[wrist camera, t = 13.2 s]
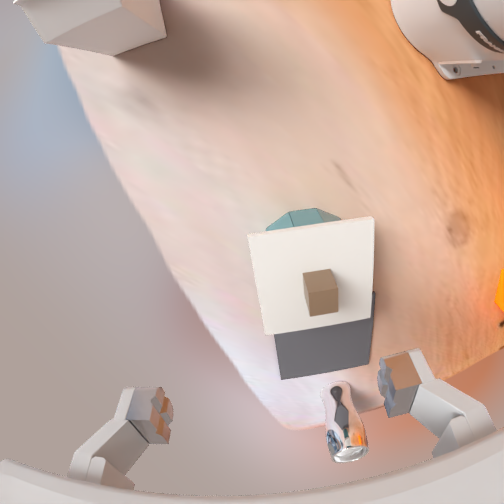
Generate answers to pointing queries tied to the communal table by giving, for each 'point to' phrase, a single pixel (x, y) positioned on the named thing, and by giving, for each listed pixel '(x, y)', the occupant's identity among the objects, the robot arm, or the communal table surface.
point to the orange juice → (500, 292)
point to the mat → (325, 348)
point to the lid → (314, 274)
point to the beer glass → (343, 424)
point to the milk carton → (96, 23)
